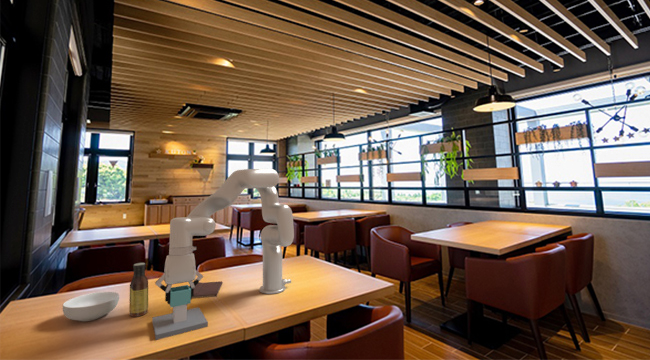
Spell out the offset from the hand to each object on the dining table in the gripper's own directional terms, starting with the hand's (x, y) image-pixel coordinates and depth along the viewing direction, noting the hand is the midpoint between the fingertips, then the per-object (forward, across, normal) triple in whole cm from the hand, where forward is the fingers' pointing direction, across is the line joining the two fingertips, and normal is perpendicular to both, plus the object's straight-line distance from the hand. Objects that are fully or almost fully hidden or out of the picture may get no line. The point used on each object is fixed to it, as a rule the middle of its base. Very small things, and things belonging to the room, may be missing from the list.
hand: (179, 300), depth 103 cm
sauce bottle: (+9, +12, -19) cm, 24 cm away
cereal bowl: (+9, +27, -27) cm, 39 cm away
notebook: (+9, -15, -33) cm, 38 cm away
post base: (+9, 0, 0) cm, 9 cm away
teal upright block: (+1, 0, 0) cm, 1 cm away
